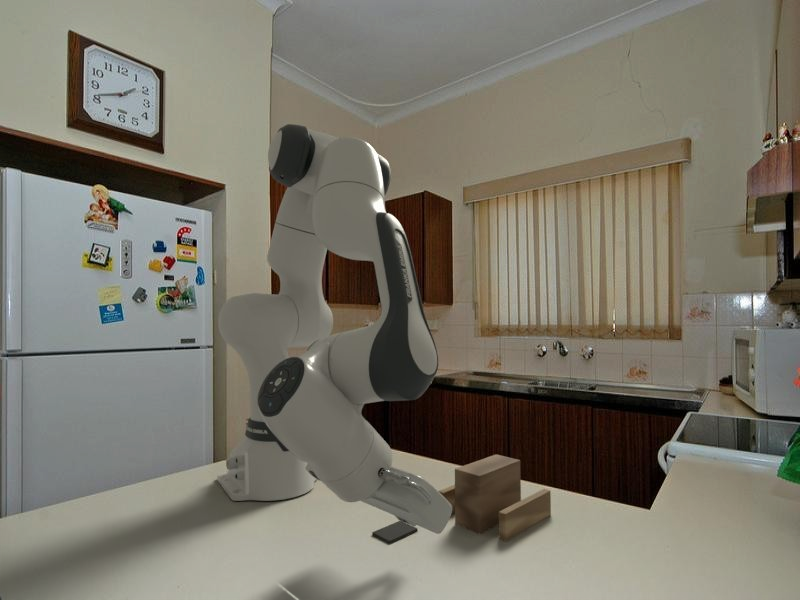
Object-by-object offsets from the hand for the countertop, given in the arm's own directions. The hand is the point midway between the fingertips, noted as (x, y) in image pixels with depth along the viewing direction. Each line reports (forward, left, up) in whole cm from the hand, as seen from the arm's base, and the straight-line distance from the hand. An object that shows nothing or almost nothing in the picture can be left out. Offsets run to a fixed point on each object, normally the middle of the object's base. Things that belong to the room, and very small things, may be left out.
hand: (410, 518), depth 64 cm
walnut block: (0, +19, -5) cm, 20 cm away
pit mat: (-7, +4, -5) cm, 10 cm away
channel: (0, +21, -5) cm, 21 cm away
